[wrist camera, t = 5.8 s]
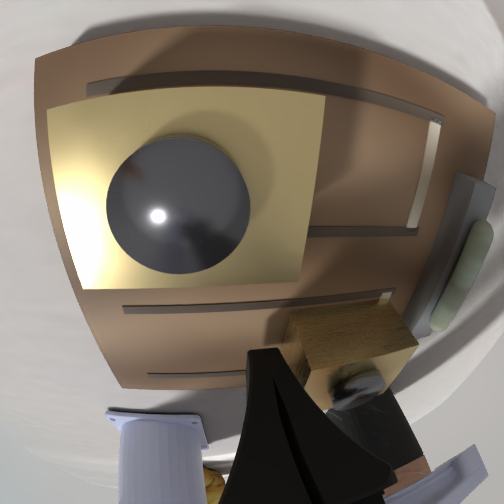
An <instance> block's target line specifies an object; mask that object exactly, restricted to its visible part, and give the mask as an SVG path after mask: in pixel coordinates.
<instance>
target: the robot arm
mask: <svg viewBox="0 0 504 504" xmlns="http://www.w3.org/2000/svg"><path fill="white" fill-rule="evenodd" d="M246 386H247V407H246V413H245V419H244V424H243V429H242V433H241V437H240V441H239V445H238V449H237V452H236V456H235V459H234V462H233V465H232V468H231V471H230V474H229V477H228V480H227V483H226V485H225V488H224V490H223V493H222V495H221V497H220V500H219V502H218V504H460V503H461V502H462V501H463V500H464V499H465V498H466V497H467V496H468V495H469V494H470V493H471V492H472V491H473V490H474V489H475V488H476V487H477V486H478V485H479V484H481V483H482V481H484V480H485V479H486V478H487V477H488V473H487V470H486V468H485V466H484V463H483V461H482V459H481V457H480V454H479V452H478V450H477V448H476V446H475V444H473V445H472V446H470V447H469V448H467V449H466V450H465V451H463V452H462V453H460V454H458V455H457V456H455V457H453V458H451V459H449V460H448V461H447V462H445V463H443V464H442V465H440V466H439V467H437V468H436V469H435V470H434V471H433V472H431V473H429V474H428V475H426V476H424V477H423V478H421V479H419V480H417V481H416V482H414V483H412V484H410V485H408V486H406V487H405V488H403V489H401V490H399V491H397V492H395V493H393V494H391V495H388V496H386V497H384V498H383V495H384V494H385V492H384V489H386V488H388V487H390V486H392V485H394V484H396V483H397V482H398V479H397V476H396V474H395V472H394V470H393V469H392V467H391V465H390V464H388V463H387V462H385V461H383V460H381V459H380V458H378V457H376V456H375V455H373V454H372V453H370V452H369V451H367V450H366V449H364V448H363V447H362V446H360V445H359V444H358V443H356V442H355V441H354V440H353V439H351V438H350V437H349V436H348V435H347V434H345V433H344V432H343V431H342V430H341V429H340V428H339V427H338V426H337V425H335V424H334V423H333V422H332V421H331V420H330V419H329V418H328V417H327V416H326V414H325V413H324V412H323V411H322V410H321V409H320V408H319V407H318V405H317V404H316V403H315V402H314V401H313V400H312V398H311V397H310V396H309V394H308V393H307V392H306V391H305V389H304V388H303V386H302V385H301V384H300V382H299V381H298V379H297V378H296V377H295V375H294V374H293V372H292V370H291V369H290V367H289V366H288V364H287V362H286V361H285V359H284V357H283V355H282V354H281V352H280V350H279V348H277V347H274V348H264V349H254V350H249V351H248V352H247V361H246ZM105 416H106V417H107V419H108V420H109V421H110V422H111V423H112V424H113V425H114V426H115V427H116V428H117V429H118V430H119V431H120V448H119V477H118V493H119V504H207V498H206V490H205V482H204V473H203V463H202V453H201V450H208V449H209V446H208V443H207V439H206V436H205V432H204V429H203V425H202V422H201V418H200V416H198V415H160V414H138V413H125V412H114V411H106V412H105Z"/></svg>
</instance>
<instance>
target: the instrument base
mask: <svg viewBox="0 0 504 504" xmlns="http://www.w3.org/2000/svg"><path fill="white" fill-rule="evenodd" d="M181 87H248V88H264V89H276V90H286V91H295V92H302V93H310V94H316V95H323V96H326V97H325V107H324V117H323V126H322V134H321V143H320V151H319V158H318V166H317V173H316V180H315V187H314V194H313V201H312V207H311V213H310V220H309V226H308V231H307V237H306V243H305V249H304V254H303V260H302V265H301V270H300V276H299V281H298V282H284V283H268V284H250V285H231V286H208V287H180V288H139V289H83V287H82V284H81V281H80V278H79V275H78V272H77V269H76V266H75V263H74V260H73V257H72V253H71V250H70V247H69V243H68V240H67V236H66V232H65V228H64V225H63V220H62V216H61V212H60V207H59V203H58V198H57V193H56V188H55V182H54V176H53V170H52V163H51V155H50V147H49V137H48V125H47V109H51V108H55V107H58V106H62V105H66V104H70V103H74V102H78V101H83V100H87V99H92V98H97V97H103V96H108V95H114V94H121V93H128V92H135V91H144V90H154V89H165V88H181ZM34 110H35V127H36V139H37V148H38V156H39V163H40V170H41V176H42V182H43V187H44V192H45V197H46V202H47V206H48V211H49V215H50V219H51V223H52V226H53V230H54V234H55V237H56V241H57V244H58V247H59V251H60V254H61V257H62V260H63V263H64V266H65V269H66V272H67V275H68V277H69V280H70V283H71V285H72V288H73V291H74V293H75V296H76V298H77V300H78V303H79V305H80V308H81V310H82V312H83V315H84V317H85V319H86V321H87V323H88V326H89V328H90V330H91V332H92V334H93V336H94V338H95V340H96V342H97V344H98V346H99V348H100V350H101V352H102V354H103V356H104V358H105V359H106V361H107V363H108V365H109V367H110V368H111V370H112V372H113V374H114V375H115V377H116V379H117V381H118V382H119V384H120V386H121V387H122V388H127V389H148V390H198V389H219V388H234V387H246V361H247V352H248V351H249V350H254V349H264V348H274V347H277V348H279V350H280V352H281V350H282V346H283V341H284V336H285V332H286V327H287V322H288V317H289V313H290V311H297V310H307V309H317V308H326V307H334V306H342V305H350V304H357V303H365V302H372V301H378V300H385V299H388V300H389V301H390V302H391V304H392V305H393V307H394V308H395V309H396V311H397V312H398V314H399V315H400V317H401V318H402V319H403V321H404V322H405V324H406V325H407V327H408V328H409V330H410V331H411V333H412V334H413V336H414V337H415V339H419V338H422V337H425V336H429V335H430V334H431V332H432V331H435V332H442V331H444V330H446V329H447V327H448V326H449V324H450V323H451V321H452V320H453V318H454V316H455V315H456V313H457V311H458V310H459V308H460V306H461V304H462V303H463V301H464V299H465V297H466V295H467V294H468V292H469V290H470V288H471V286H472V284H473V282H474V280H475V278H476V276H477V274H478V272H479V270H480V268H481V266H482V264H483V261H484V259H485V257H486V255H487V252H488V250H489V248H490V245H491V243H492V240H493V236H494V233H493V229H492V226H491V225H490V224H489V223H488V222H487V221H486V219H487V216H488V213H489V210H490V207H491V204H492V200H493V197H494V194H495V190H496V188H495V187H493V186H491V185H489V184H488V183H486V182H484V181H483V178H484V174H485V170H486V166H487V161H488V157H489V152H490V147H491V141H492V135H493V129H494V121H495V113H494V112H493V111H492V110H490V109H489V108H487V107H486V106H484V105H483V104H481V103H480V102H478V101H476V100H475V99H473V98H472V97H470V96H468V95H467V94H465V93H463V92H461V91H460V90H458V89H456V88H454V87H453V86H451V85H449V84H447V83H445V82H443V81H441V80H439V79H437V78H435V77H433V76H431V75H429V74H427V73H425V72H423V71H421V70H418V69H416V68H414V67H412V66H409V65H407V64H404V63H402V62H399V61H397V60H394V59H392V58H389V57H386V56H384V55H381V54H378V53H375V52H372V51H369V50H366V49H363V48H359V47H356V46H353V45H349V44H346V43H342V42H338V41H334V40H330V39H326V38H321V37H316V36H312V35H306V34H301V33H295V32H289V31H282V30H275V29H266V28H256V27H242V26H180V27H167V28H157V29H148V30H141V31H134V32H128V33H122V34H117V35H112V36H107V37H103V38H99V39H95V40H91V41H87V42H83V43H79V44H76V45H73V46H69V47H66V48H63V49H60V50H57V51H54V52H51V53H49V54H46V55H43V56H41V57H38V58H36V59H35V72H34Z"/></svg>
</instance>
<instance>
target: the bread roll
mask: <svg viewBox="0 0 504 504" xmlns="http://www.w3.org/2000/svg"><path fill="white" fill-rule="evenodd" d="M203 473H204V482H205V490H206V498H207V504H218V502H219V500H220V497H221V495H222V493H223V490H224V488H225V485H226V484H225V480H224V478H223V477H222V475H221V474H220V473H219V472H216V471H211V470H208V469H207V468H204V467H203Z"/></svg>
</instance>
